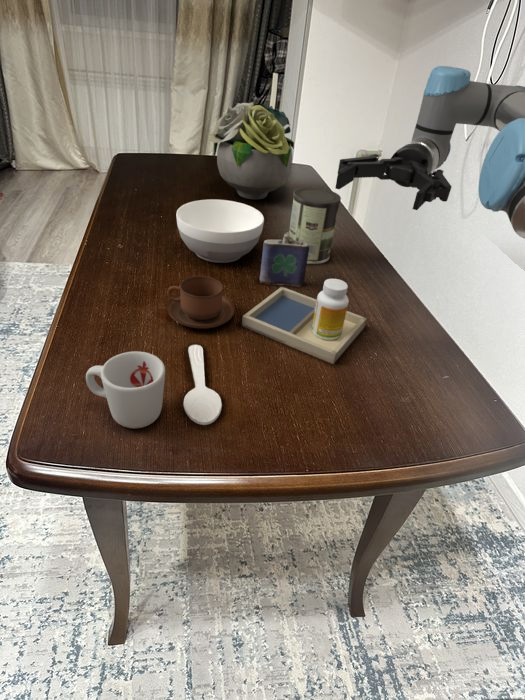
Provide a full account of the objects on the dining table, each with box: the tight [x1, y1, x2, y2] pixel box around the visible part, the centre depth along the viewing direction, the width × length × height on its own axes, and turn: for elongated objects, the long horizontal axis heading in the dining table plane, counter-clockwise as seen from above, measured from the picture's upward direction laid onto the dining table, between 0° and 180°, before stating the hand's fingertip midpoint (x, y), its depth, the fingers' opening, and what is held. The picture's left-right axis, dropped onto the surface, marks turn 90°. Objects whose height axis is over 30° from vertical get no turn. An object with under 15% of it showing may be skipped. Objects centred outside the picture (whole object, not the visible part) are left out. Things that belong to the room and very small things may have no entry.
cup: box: [85, 351, 166, 429], centre depth 65 cm, size 11×8×8 cm
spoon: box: [182, 344, 223, 426], centre depth 73 cm, size 5×18×1 cm, turn 11°
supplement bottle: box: [312, 278, 350, 340], centre depth 84 cm, size 5×5×10 cm
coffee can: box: [288, 186, 342, 265], centre depth 110 cm, size 10×10×14 cm
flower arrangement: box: [208, 101, 295, 200], centre depth 136 cm, size 25×25×24 cm
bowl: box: [176, 199, 265, 264], centre depth 108 cm, size 19×19×9 cm
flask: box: [259, 231, 309, 287], centre depth 99 cm, size 9×3×11 cm, turn 91°
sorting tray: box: [241, 286, 367, 365], centre depth 88 cm, size 18×14×2 cm
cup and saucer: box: [166, 275, 236, 330], centre depth 87 cm, size 12×12×6 cm
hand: (376, 190), depth 80 cm, fingers open, 13 cm apart
